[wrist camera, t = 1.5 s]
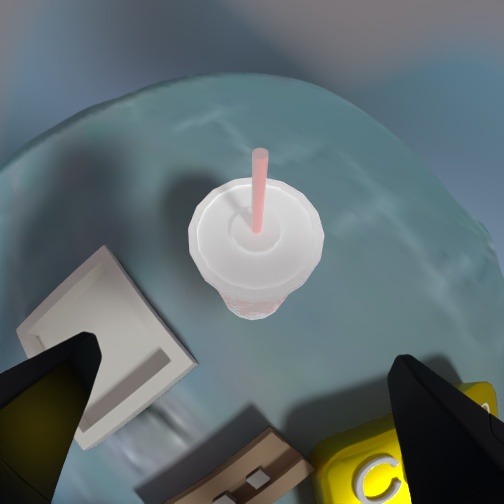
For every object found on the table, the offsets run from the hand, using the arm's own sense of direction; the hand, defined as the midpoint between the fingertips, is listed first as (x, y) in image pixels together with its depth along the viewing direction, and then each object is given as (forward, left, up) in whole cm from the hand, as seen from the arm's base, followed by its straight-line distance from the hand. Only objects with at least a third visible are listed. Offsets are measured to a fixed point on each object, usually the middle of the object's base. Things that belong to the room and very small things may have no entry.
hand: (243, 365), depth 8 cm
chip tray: (-8, +8, -12) cm, 16 cm away
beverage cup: (+4, +4, -12) cm, 14 cm away
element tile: (+1, -17, -13) cm, 22 cm away
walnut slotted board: (-8, -6, -12) cm, 16 cm away
